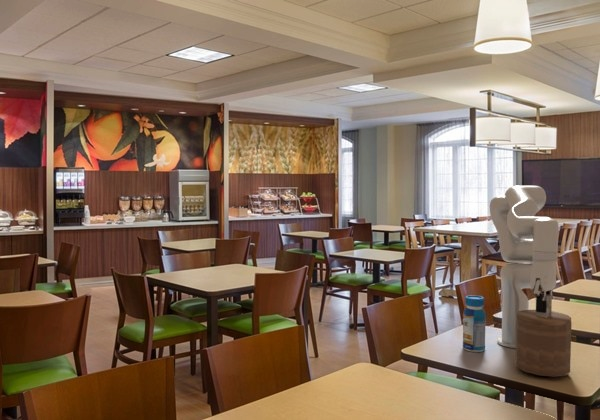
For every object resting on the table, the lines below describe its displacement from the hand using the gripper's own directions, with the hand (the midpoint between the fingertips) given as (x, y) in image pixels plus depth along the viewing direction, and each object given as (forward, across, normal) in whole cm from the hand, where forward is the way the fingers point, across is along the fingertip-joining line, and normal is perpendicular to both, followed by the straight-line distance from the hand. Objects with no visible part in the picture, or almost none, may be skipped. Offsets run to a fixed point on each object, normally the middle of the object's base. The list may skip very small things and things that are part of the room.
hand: (543, 310), depth 181 cm
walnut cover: (+19, 0, 0) cm, 19 cm away
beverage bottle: (+21, -6, -28) cm, 36 cm away
